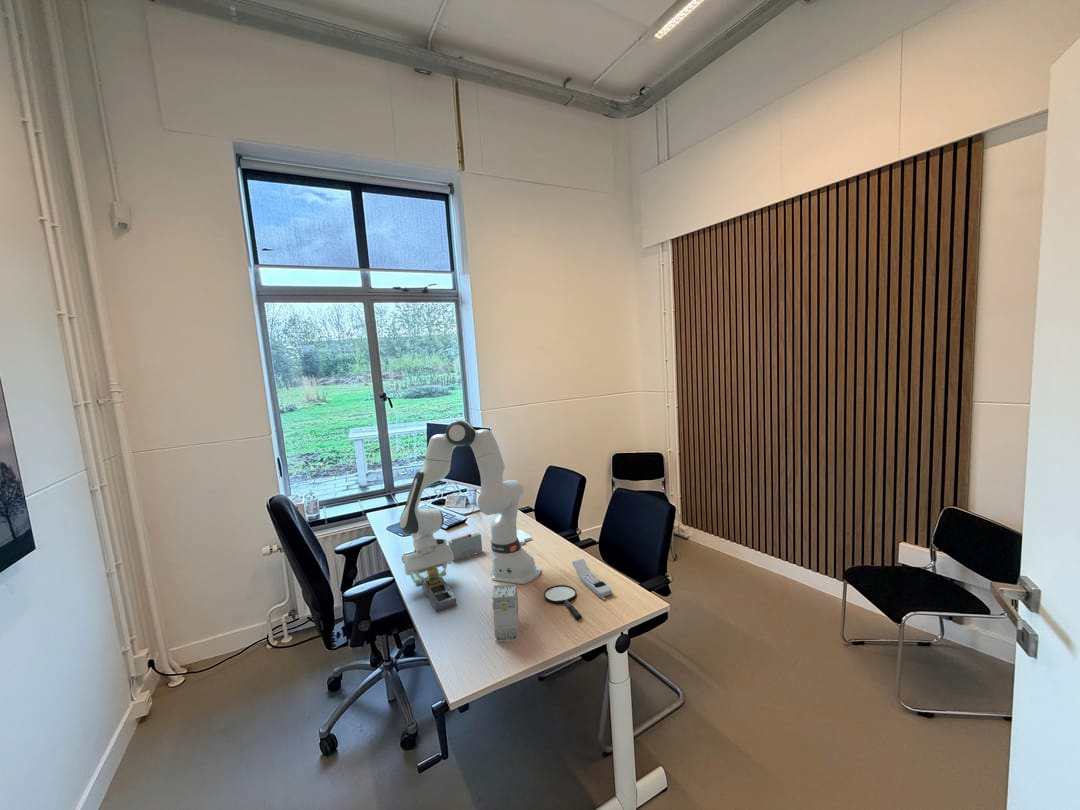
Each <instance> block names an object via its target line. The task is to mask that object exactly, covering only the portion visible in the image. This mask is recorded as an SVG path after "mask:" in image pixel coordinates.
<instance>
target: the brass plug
mask: <svg viewBox="0 0 1080 810" xmlns="http://www.w3.org/2000/svg"><path fill="white" fill-rule="evenodd" d="M438 569H439V568H438ZM438 569H437V568H436V567H435V568H431V569H427V570H426V572H427V582H428V585H429V586H431V585H434V584H438V583H440V582H439V571H438Z"/></svg>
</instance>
